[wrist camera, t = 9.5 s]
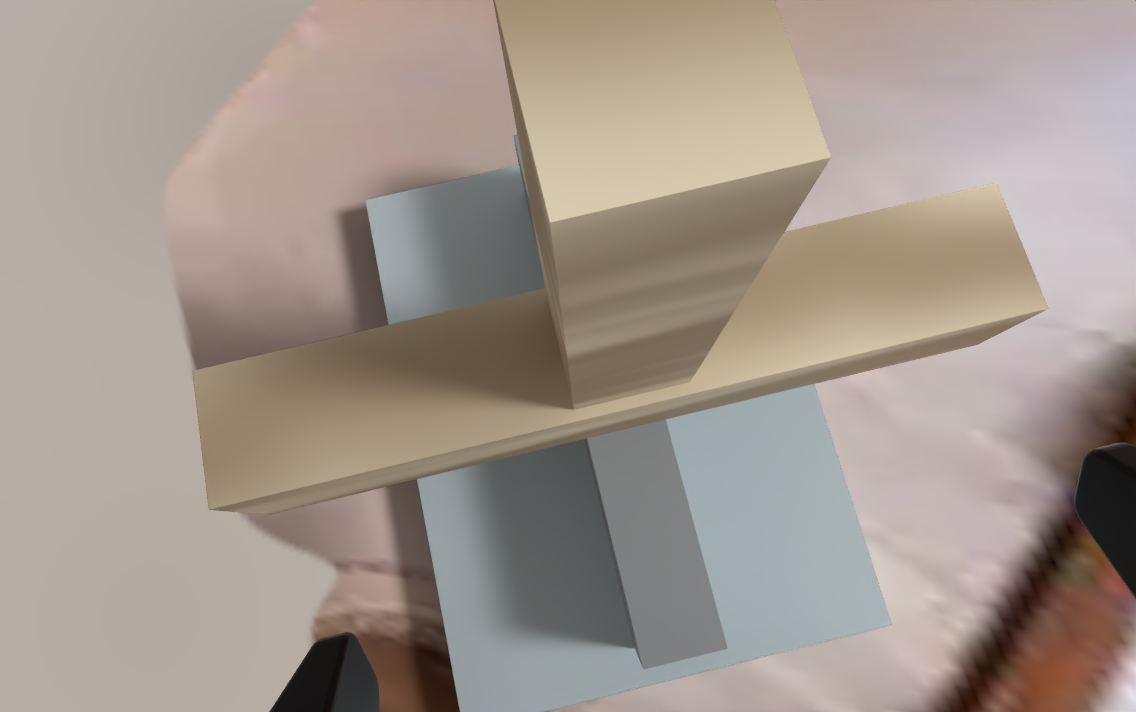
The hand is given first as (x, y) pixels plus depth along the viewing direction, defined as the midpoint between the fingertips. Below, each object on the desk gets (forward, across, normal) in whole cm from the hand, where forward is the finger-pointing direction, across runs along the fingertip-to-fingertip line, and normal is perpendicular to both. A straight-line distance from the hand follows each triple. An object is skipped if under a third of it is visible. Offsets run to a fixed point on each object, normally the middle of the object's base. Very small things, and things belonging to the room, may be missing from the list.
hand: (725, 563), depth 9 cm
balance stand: (+13, 0, +6) cm, 14 cm away
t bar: (+10, 0, +3) cm, 10 cm away
